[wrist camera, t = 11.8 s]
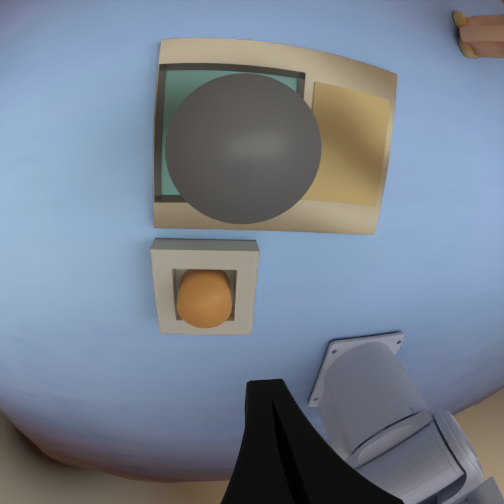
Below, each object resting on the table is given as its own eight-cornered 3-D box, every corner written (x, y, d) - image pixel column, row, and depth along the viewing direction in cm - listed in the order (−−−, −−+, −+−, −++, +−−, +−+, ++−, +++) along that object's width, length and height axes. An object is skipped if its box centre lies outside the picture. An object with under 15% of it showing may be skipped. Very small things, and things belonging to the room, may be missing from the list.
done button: (228, 305, 19) (230, 328, 17) (181, 304, 19) (178, 327, 16) (230, 263, 18) (233, 284, 16) (179, 262, 17) (175, 283, 15)
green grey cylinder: (269, 168, 15) (320, 218, 8) (193, 174, 15) (175, 231, 8) (266, 94, 13) (320, 74, 6) (187, 100, 13) (159, 81, 6)
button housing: (248, 319, 20) (251, 334, 19) (163, 318, 19) (160, 333, 18) (255, 240, 18) (259, 251, 16) (155, 238, 17) (150, 249, 15)
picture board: (370, 231, 18) (375, 236, 18) (156, 224, 16) (153, 229, 16) (391, 74, 14) (398, 73, 13) (163, 42, 12) (160, 38, 11)
